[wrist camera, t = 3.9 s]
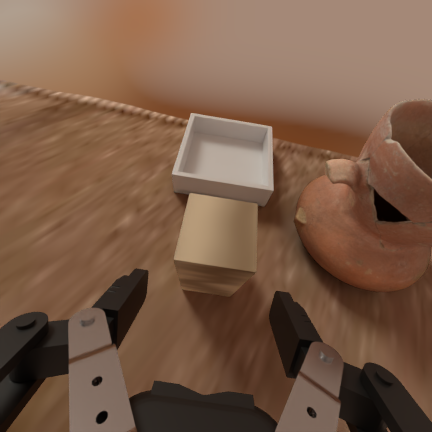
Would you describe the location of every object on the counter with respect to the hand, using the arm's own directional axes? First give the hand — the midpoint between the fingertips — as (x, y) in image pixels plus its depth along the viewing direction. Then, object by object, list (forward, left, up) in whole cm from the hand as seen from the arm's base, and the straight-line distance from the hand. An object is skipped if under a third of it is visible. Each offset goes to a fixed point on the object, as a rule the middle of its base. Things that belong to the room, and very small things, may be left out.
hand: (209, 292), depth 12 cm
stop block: (0, +4, -9) cm, 9 cm away
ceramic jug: (+17, +11, -9) cm, 22 cm away
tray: (0, +19, -9) cm, 21 cm away
